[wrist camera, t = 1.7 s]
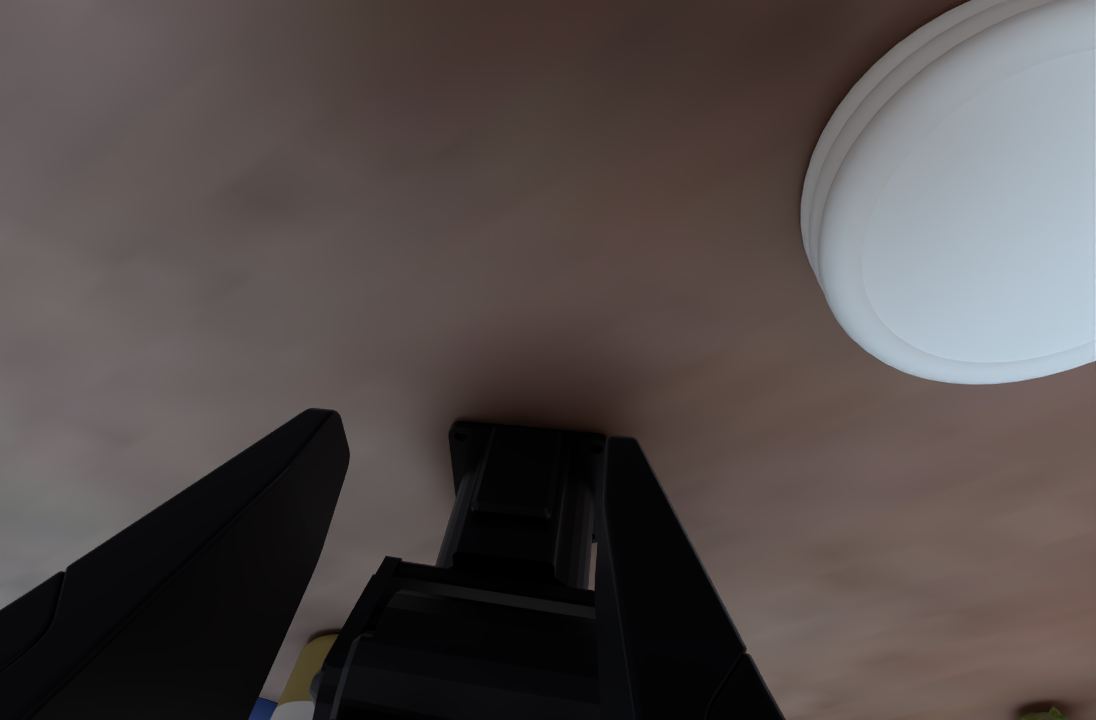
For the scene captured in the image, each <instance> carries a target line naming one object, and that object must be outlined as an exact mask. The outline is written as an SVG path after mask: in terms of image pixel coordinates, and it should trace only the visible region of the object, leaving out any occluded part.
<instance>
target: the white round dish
mask: <svg viewBox="0 0 1096 720" xmlns="http://www.w3.org/2000/svg"><path fill="white" fill-rule="evenodd" d="M800 226H801V232H802V239H803V245H804V248H805V251H806V254H807V257H808V260H809V263H810V266H811V267H812V269H813V271H814V273H815V275H816V278H817V281H818V283H819V285H820V287H821V289H822V291H823V293H824V295H825V298H826V301H827V303H828V305H829V307H830V309H831V311H832V313H833V315H834V317H835V318H836V320H837V321H838V323H839V324H840V325H841V327H842V328H843V329H844V330H845V332H846V333H847V334H848V335H849V336H850V337H851V338H852V339H853V340H854V341H855V342H856V343H858V344H859V345H860V346H861V347H862V348H863V349H864V350H866V351H867V352H868V353H870V354H871V355H873V356H874V357H876V358H878V359H879V360H881V361H882V362H884V363H885V364H887V365H889V366H892V367H894V368H896V369H898V370H900V371H902V372H905V373H908V374H911V375H914V376H918V377H921V378H924V379H929V380H935V381H940V382H946V383H958V384H998V383H1007V382H1017V381H1023V380H1028V379H1033V378H1039V377H1044V376H1047V375H1051V374H1055V373H1059V372H1062V371H1066V370H1070V369H1073V368H1076V367H1079V366H1081V365H1084V364H1087V363H1090V362H1093V361H1096V0H970V1H968V2H966V3H964V4H962V5H960V6H958V7H956V8H953V9H951V10H949V11H947V12H945V13H944V14H942V15H940V16H939V17H937V18H935V19H934V20H932V21H930V22H929V23H927V24H925V25H923V26H922V27H920V28H919V29H917V30H916V31H914V32H913V33H912V34H910V35H909V36H908V37H906V38H905V39H903V40H902V41H901V42H899V43H898V44H897V45H895V46H894V47H893V48H892V49H891V50H890V51H888V52H887V53H886V54H885V55H884V56H883V57H882V58H880V59H879V60H878V61H877V62H876V63H875V64H874V65H873V66H872V67H871V68H870V69H869V70H868V71H867V72H866V73H865V74H864V75H863V76H862V77H861V79H860V80H859V81H858V82H857V83H856V84H855V85H854V86H853V87H852V89H851V90H850V91H849V93H848V94H847V95H846V96H845V98H844V99H843V100H842V102H841V103H840V104H839V106H838V107H837V108H836V110H835V112H834V113H833V115H832V117H831V118H830V120H829V122H828V123H827V125H826V127H825V128H824V130H823V132H822V134H821V136H820V138H819V141H818V143H817V145H816V147H815V149H814V152H813V154H812V157H811V160H810V164H809V167H808V170H807V174H806V177H805V181H804V187H803V193H802V199H801V225H800Z"/></svg>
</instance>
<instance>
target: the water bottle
mask: <svg viewBox="0 0 1096 720" xmlns="http://www.w3.org/2000/svg"><path fill="white" fill-rule="evenodd" d="M277 705H278V704H277V703H274V702H272V701H269V700H266V699H262V698H258V699H257V701H256V704H255V706H254V708H253V710H252V713H251V715H250V717H249V719H248V720H270V719H271V717H272V715H273V713H274V711H275V709H276V707H277Z"/></svg>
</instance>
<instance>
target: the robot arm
mask: <svg viewBox="0 0 1096 720" xmlns="http://www.w3.org/2000/svg"><path fill="white" fill-rule="evenodd" d="M459 432H462V433H464V434H460V433H459ZM449 444H450V452H451V461H452V469H453V477H454V486H455V494H456V500H455V503H454V506H453V510H452V513H451V516H450V519H449V523H448V526H447V529H446V532H445V536H444V539H443V542H442V545H441V549H440V552H439V555H438V559H437V562H436V565H435V566H431V565H425V564H418V563H412V562H405V561H402V558H396V557H390V556H386V557H385V558H384V560H383V562H382V564H381V565H380V567H379V569H378V571H377V572H376V574H375V575H374V574H373V575H372V577H371V579H370V580H369V582H368V584H367V586H366V587H365V589H364V591H363V593H362V594H361V596H360V598H359V600H358V601H357V603H356V605H355V607H354V608H353V610H352V612H351V614H350V615H349V617H348V619H347V621H346V622H345V624H344V626H343V628H342V629H341V631H340V633H339V635H338V637H337V638H336V640H335V642H334V644H333V645H332V647H331V649H330V651H329V652H328V654H327V656H326V658H325V660H324V662H323V665H322V667H321V668H320V669H319V670H318V672H317V673H316V674H315V676H314V677H313V679H312V682H311V685H310V690H309V695H310V697H311V700H312V702H313V704H314V706H315V709H314V714H313V719H312V720H786V719H785V717H784V716H783V714H782V712H781V710H780V709H779V707H778V705H777V703H776V701H775V700H774V698H773V696H772V694H771V693H770V691H769V689H768V687H767V685H766V683H765V682H764V680H763V678H762V676H761V674H760V672H759V670H758V668H757V666H756V664H755V662H754V661H753V659H752V657H751V655H750V654H745V653H746V650H747V648H746V646H745V644H744V642H743V640H742V638H741V636H740V634H739V633H738V631H737V629H736V627H735V625H734V623H733V621H732V619H731V617H730V615H729V613H728V612H727V610H726V608H725V606H724V604H723V602H722V600H721V598H720V596H719V594H718V592H717V591H716V589H715V587H714V585H713V583H712V581H711V579H710V577H709V575H708V573H707V571H706V570H705V568H704V566H703V564H702V562H701V560H700V558H699V556H698V554H697V552H696V550H695V549H694V547H693V545H692V543H691V541H690V539H689V537H688V535H687V533H686V531H685V529H684V528H683V526H682V524H681V522H680V520H679V518H678V516H677V514H676V512H675V510H674V508H673V507H672V505H671V503H670V501H669V499H668V497H667V495H666V493H665V491H664V489H663V487H662V486H661V484H660V482H659V480H658V478H657V476H656V474H655V472H654V470H653V468H652V466H651V465H650V463H649V461H648V459H647V457H646V455H645V453H644V451H643V449H642V447H641V445H640V444H639V442H638V440H637V439H635V438H634V437H627V436H616V435H610V436H608V437H606V436H605V435H603V434H600V433H591V432H580V431H569V430H558V429H547V428H536V427H525V426H514V425H503V424H491V423H480V422H469V421H457V422H454V423H453V424H452V425H451V428H450V431H449ZM593 445H600V447H596V446H593ZM349 459H350V452H349V447H348V443H347V439H346V435H345V431H344V427H343V423H342V419H341V417H340V415H339V413H338V412H337V411H335V410H330V409H318V408H310V409H307V410H305V411H303V412H302V413H300V414H299V415H297V416H296V417H294V418H293V419H291V420H290V421H288V422H287V423H285V424H283V425H282V426H280V427H279V428H277V429H276V430H274V431H273V432H271V433H270V434H268V435H267V436H265V437H264V438H262V439H261V440H259V441H258V442H256V443H255V444H253V445H252V446H250V447H249V448H247V449H245V450H244V451H242V452H241V453H239V454H238V455H236V456H235V457H233V458H232V459H230V460H229V461H227V462H226V463H224V464H223V465H221V466H220V467H218V468H217V469H215V470H214V471H212V472H211V473H209V474H207V475H206V476H204V477H203V478H201V479H200V480H198V481H197V482H195V483H194V484H192V485H191V486H189V487H188V488H186V489H185V490H183V491H182V492H180V493H179V494H177V495H176V496H174V497H173V498H171V499H169V500H168V501H166V502H165V503H163V504H162V505H160V506H159V507H157V508H156V509H154V510H153V511H151V512H150V513H148V514H147V515H145V516H144V517H142V518H141V519H139V520H138V521H136V522H135V523H133V524H131V525H130V526H128V527H127V528H125V529H124V530H122V531H121V532H119V533H118V534H116V535H115V536H113V537H112V538H110V539H109V540H107V541H106V542H104V543H103V544H101V545H100V546H98V547H97V548H95V549H93V550H92V551H90V552H89V553H87V554H86V555H84V556H83V557H81V558H80V559H78V560H77V561H75V562H74V563H72V564H71V565H69V566H68V567H67V568H66V570H65V572H63V571H61V572H58V573H57V574H55V575H54V576H52V577H51V578H49V579H48V580H46V581H44V582H43V583H41V584H40V585H38V586H37V587H35V588H34V589H32V590H31V591H29V592H28V593H26V594H25V595H23V596H21V597H20V598H18V599H17V600H15V601H14V602H12V603H10V604H9V605H7V606H6V607H4V608H3V609H1V610H0V720H248V719H249V717H250V715H251V713H252V710H253V708H254V706H255V704H256V701H257V699H258V697H259V695H260V692H261V690H262V688H263V685H264V683H265V681H266V679H267V676H268V674H269V672H270V670H271V667H272V665H273V663H274V661H275V658H276V656H277V654H278V652H279V649H280V647H281V645H282V642H283V640H284V638H285V636H286V633H287V631H288V629H289V627H290V624H291V622H292V620H293V618H294V615H295V613H296V611H297V608H298V606H299V604H300V602H301V599H302V597H303V595H304V593H305V590H306V588H307V586H308V584H309V581H310V579H311V577H312V574H313V572H314V570H315V567H316V565H317V562H318V560H319V557H320V554H321V551H322V548H323V545H324V542H325V539H326V536H327V533H328V529H329V526H330V523H331V520H332V517H333V513H334V510H335V507H336V504H337V501H338V497H339V494H340V491H341V488H342V485H343V482H344V478H345V475H346V472H347V469H348V465H349ZM595 542H598V545H597V558H596V572H595V591H593V590H588V584H589V571H590V558H591V545H592V543H595Z"/></svg>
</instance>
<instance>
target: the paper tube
mask: <svg viewBox="0 0 1096 720" xmlns="http://www.w3.org/2000/svg"><path fill="white" fill-rule="evenodd" d="M338 635H339V634H332V635H326V636H321V637H318V638H316V639H314V640H313V641H311V642H310V643H309V644H307V645H306V646H305V647H304V649H303V650H302V652H301V654H300V656H299V658H298V660H297V662H296V665H295V667H294V669H293V671H292V674H291V676H290V678H289V680H288V683H287V685H286V687H285V689H284V691H283V694H282V696H281V698H280V700H279V703H278V705H277V707H276V709H275V711H274V713H273V715H272V717H271V719H270V720H312V719H313V714H314V709H315V706H314V704H313V702H312V700H311V697H310V695H309V690H310V685H311V682H312V679H313V677H314V676H315V674H316V673H317V672H318V670H319V669H320V668H321V667H322V665H323V662H324V660H325V658H326V656H327V654H328V652H329V651H330V649H331V647H332V645H333V644H334V642H335V640H336V638H337V637H338Z"/></svg>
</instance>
